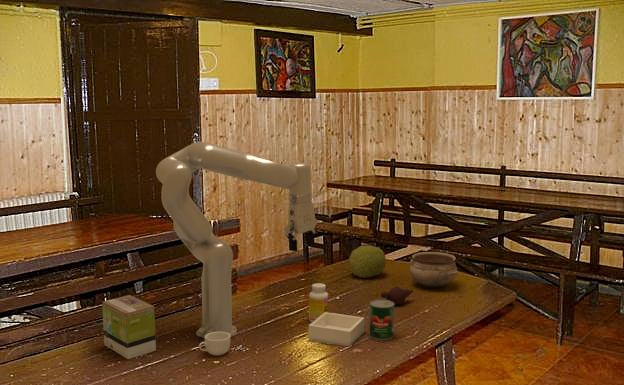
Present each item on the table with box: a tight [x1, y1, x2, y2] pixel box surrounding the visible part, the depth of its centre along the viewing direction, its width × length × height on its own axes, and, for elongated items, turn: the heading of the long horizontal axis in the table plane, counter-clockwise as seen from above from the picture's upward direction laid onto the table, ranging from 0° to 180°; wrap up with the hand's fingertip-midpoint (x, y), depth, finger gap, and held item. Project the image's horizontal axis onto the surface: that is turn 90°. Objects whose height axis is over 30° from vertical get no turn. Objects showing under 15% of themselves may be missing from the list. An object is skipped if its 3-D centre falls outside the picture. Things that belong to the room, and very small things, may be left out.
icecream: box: [380, 285, 414, 306], centre depth 248 cm, size 7×8×15 cm
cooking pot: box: [409, 251, 459, 289], centre depth 271 cm, size 25×19×12 cm
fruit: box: [348, 245, 387, 279], centre depth 285 cm, size 16×14×15 cm
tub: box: [308, 311, 366, 348], centre depth 215 cm, size 14×14×5 cm
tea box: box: [101, 294, 157, 360], centre depth 204 cm, size 15×10×15 cm, turn 45°
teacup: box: [198, 331, 231, 356], centre depth 201 cm, size 10×8×5 cm
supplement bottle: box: [308, 282, 329, 323], centre depth 229 cm, size 7×7×13 cm
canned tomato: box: [368, 299, 395, 341], centre depth 216 cm, size 8×8×11 cm
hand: (302, 247), depth 229 cm, fingers open, 9 cm apart
